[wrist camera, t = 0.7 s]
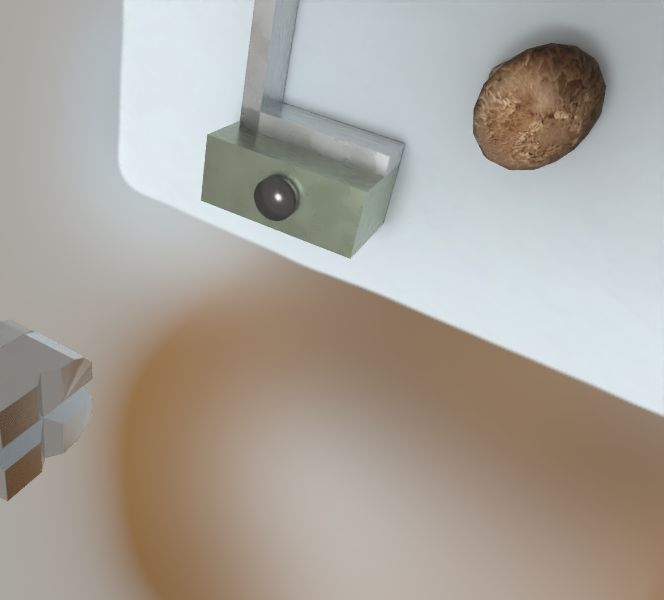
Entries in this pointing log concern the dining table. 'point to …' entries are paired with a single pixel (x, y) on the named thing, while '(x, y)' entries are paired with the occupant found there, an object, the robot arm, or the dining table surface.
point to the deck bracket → (296, 154)
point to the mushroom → (538, 106)
